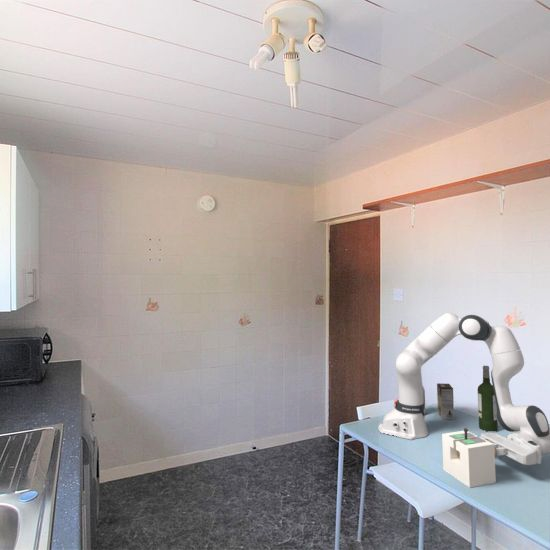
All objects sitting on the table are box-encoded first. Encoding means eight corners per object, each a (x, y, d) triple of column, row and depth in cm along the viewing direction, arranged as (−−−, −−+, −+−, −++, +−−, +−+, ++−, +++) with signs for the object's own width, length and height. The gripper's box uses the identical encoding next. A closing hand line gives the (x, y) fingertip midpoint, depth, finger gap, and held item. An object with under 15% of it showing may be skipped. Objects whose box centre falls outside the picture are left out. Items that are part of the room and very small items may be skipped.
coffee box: (437, 412, 199) (436, 383, 200) (450, 413, 198) (449, 383, 199) (441, 418, 190) (440, 387, 191) (454, 419, 189) (453, 388, 190)
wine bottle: (478, 424, 181) (475, 363, 182) (496, 427, 178) (494, 365, 179) (479, 430, 174) (477, 367, 175) (499, 433, 171) (496, 368, 171)
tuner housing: (467, 465, 141) (466, 429, 142) (495, 482, 129) (494, 443, 129) (443, 469, 138) (442, 433, 139) (469, 487, 126) (468, 447, 126)
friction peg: (483, 454, 139) (482, 422, 140) (497, 461, 133) (495, 427, 134) (456, 459, 136) (455, 425, 136) (468, 466, 130) (467, 432, 131)
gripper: (496, 426, 150) (468, 431, 147) (544, 448, 130) (513, 453, 127) (497, 442, 150) (469, 447, 146) (545, 466, 130) (514, 471, 127)
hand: (490, 450), depth 136 cm, fingers closed, pressing on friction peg
